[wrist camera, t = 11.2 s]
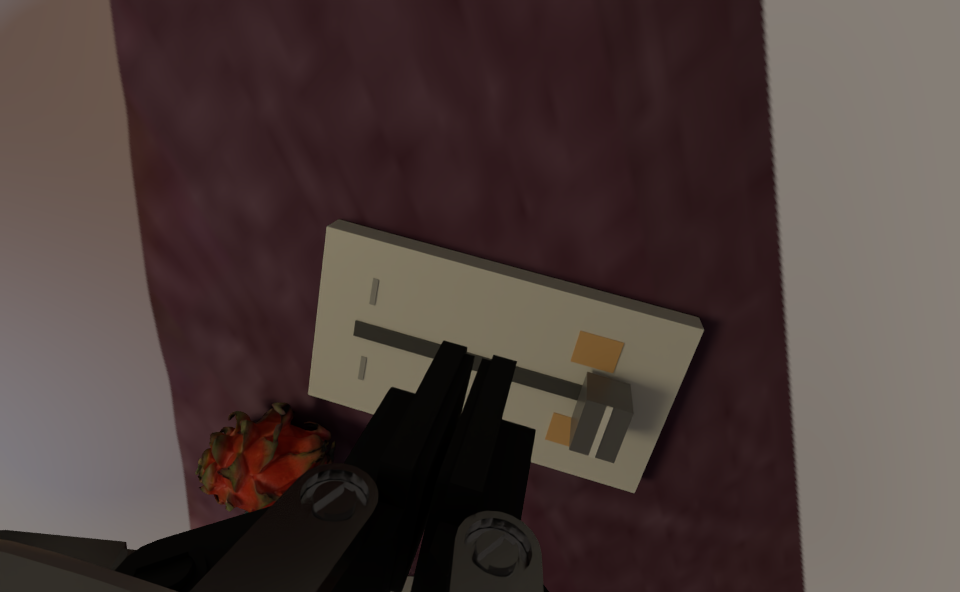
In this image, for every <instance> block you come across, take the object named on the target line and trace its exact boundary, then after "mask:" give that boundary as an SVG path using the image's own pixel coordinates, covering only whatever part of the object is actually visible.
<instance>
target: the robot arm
mask: <svg viewBox="0 0 960 592" xmlns="http://www.w3.org/2000/svg"><path fill="white" fill-rule="evenodd" d="M474 359H475V356H473V355H470V354H467V347H466V346H462V345H459V344H455V343H452V342H448V341H445V340H444V341H443V342H442V344H441V346H440V347H439V349H438V351H437V353H436V355H435V357H434V359H433V361H432V363H431V365H430V366H429V368H428V370H427V372H426V374H425V376H424V378H423V380H422V382H421V383H420V385H419V387H418V389H417V391H416V393H412V392H409V391H405V390H402V389H398V388H395V387H391V388H390V389H389V391H388V392H387V394H386V395H385V397H384V398H383V400H382V402H381V403H380V405H379V407H378V408H377V410H376V412H375V413H374V415H373V417H372V418H371V420H370V422H369V423H368V425H367V426H366V428H365V430H364V431H363V433H362V435H361V436H360V438H359V440H358V441H357V443H356V445H355V446H354V448H353V449H352V451H351V453H350V454H349V456H348V458H347V459H346V461H345V463H344V464H342V463H329V464H323V465H319V466H316V467H314V468H312V469H309V470H308V471H306V472H305V473H304V474H302V475H301V476H300V477H299V478H298V479H297V480H296V481H295V482H294V483H293V484H292V485H291V486H290V487H289V488H288V489H287V490H286V491H285V492H284V493H283V494H282V495H281V496H280V497H279V498H278V500H277V501H276V502H275V503H274V504H273V505H272V506H269V507H266V508H262V509H259V510H256V511H253V512H249V513H246V514H243V515H239V516H236V517H233V518H229V519H226V520H223V521H219V522H216V523H213V524H209V525H206V526H203V527H199V528H196V529H193V530H189V531H186V532H183V533H179V534H176V535H173V536H169V537H166V538H163V539H160V540H157V541H154V542H152V543H150V544H147V545H145V546H142V547H140V548H139V549H138V550H130V549H127V546H126V542H122V541H111V540H101V539H90V538H80V537H70V536H60V535H51V534H41V533H30V532H20V531H10V530H0V592H391V591H392V592H402V590H403V588H404V585H405V582H406V579H407V577H408V574H409V571H410V568H411V566H412V563H413V560H414V557H415V555H416V552H417V549H418V546H419V544H420V541H421V538H422V535H423V532H424V536H423V540H422V544H421V549H420V553H419V557H418V562H417V566H416V570H415V574H414V579H413V583H412V587H411V592H549V591H548V590H547V589H546V587H545V586H544V585H543V573H542V555H541V550H540V546H539V542H538V540H537V539H536V537H535V535H534V533H533V532H532V531H531V530H530V529H529V528H528V527H527V526H526V525H525V524H524V523H523V522H522V521H521V515H522V509H523V504H524V498H525V492H526V486H527V480H528V474H529V469H530V463H531V457H532V451H533V445H534V439H535V433H536V429H533V428H530V427H526V426H523V425H520V424H516V423H513V422H510V421H506V420H503V419H502V417H503V413H504V409H505V405H506V402H507V398H508V394H509V390H510V387H511V383H512V379H513V375H514V371H515V368H516V364H517V361H514V360H511V359H507V358H504V357H500V356H497V355H493V357H492V360H487V359H484V358H482V360H481V363H480V365H479V368H478V371H477V373H476V376H475V379H474V381H473V384H472V386H471V389H470V392H469V394H468V397H467V400H466V402H465V405H464V401H465V396H466V392H467V388H468V384H469V380H470V376H471V372H472V367H473V363H474ZM463 405H464V408H463ZM462 409H463V410H462ZM424 530H425V531H424Z"/></svg>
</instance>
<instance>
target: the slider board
mask: <svg viewBox="0 0 960 592" xmlns="http://www.w3.org/2000/svg"><path fill="white" fill-rule="evenodd" d="M703 331H704V328H703V326H702V324H701V321H700V319H699V317H695V316H692V315H688V314H684V313H681V312H677V311H673V310H670V309H666V308H662V307H659V306H655V305H651V304H648V303H644V302H640V301H637V300H633V299H629V298H626V297H622V296H618V295H615V294H611V293H607V292H604V291H600V290H596V289H593V288H589V287H585V286H582V285H578V284H574V283H571V282H567V281H563V280H559V279H556V278H552V277H548V276H545V275H541V274H537V273H534V272H530V271H526V270H523V269H519V268H515V267H512V266H508V265H504V264H501V263H497V262H493V261H490V260H486V259H482V258H479V257H475V256H471V255H468V254H464V253H460V252H457V251H453V250H449V249H446V248H442V247H438V246H435V245H431V244H427V243H424V242H420V241H416V240H413V239H409V238H405V237H402V236H398V235H394V234H391V233H387V232H383V231H380V230H376V229H372V228H369V227H365V226H361V225H358V224H354V223H350V222H347V221H343V220H339V219H338V220H337V221H335V222H333V223H332V224H330V225H328V226H327V229H326V238H325V247H324V256H323V265H322V274H321V283H320V292H319V301H318V310H317V319H316V328H315V337H314V346H313V355H312V364H311V373H310V382H309V391H308V395H311V396H315V397H318V398H321V399H324V400H328V401H331V402H334V403H338V404H341V405H344V406H348V407H351V408H354V409H357V410H361V411H364V412H367V413H371V414H374V413H375V412H376V410H377V408H378V407H379V405H380V403H381V402H382V400H383V398H384V397H385V395H386V394H387V392H388V391H389V389H390V388H391V387H395V388H398V389H402V390H405V391H409V392H412V393H416V391H417V389H418V387H419V385H420V383H421V382H422V380H423V378H424V376H425V374H426V372H427V370H428V368H429V366H430V365H431V363H432V361H433V359H434V357H435V355H436V353H437V351H438V349H439V347H440V346H441V344H442V342H443V341H444V340H445V341H448V342H452V343H455V344H459V345H462V346H466V347H467V354H470V355H473V356H475V359H474V363H473V367H472V372H471V376H470V380H469V384H468V388H467V392H466V396H465V401H464V405H465V402H466V400H467V397H468V394H469V392H470V389H471V386H472V384H473V381H474V379H475V376H476V373H477V371H478V368H479V365H480V363H481V360H482V358H484V359H487V360H492V357H493V355H497V356H500V357H504V358H507V359H511V360H514V361H517V364H516V368H515V371H514V375H513V379H512V383H511V387H510V390H509V394H508V398H507V402H506V405H505V409H504V413H503V417H502V419H503V420H506V421H510V422H513V423H516V424H520V425H523V426H526V427H530V428H533V429H536V433H535V439H534V445H533V451H532V457H531V462H533V463H536V464H539V465H543V466H546V467H549V468H553V469H556V470H559V471H563V472H566V473H569V474H572V475H576V476H579V477H582V478H586V479H589V480H592V481H596V482H599V483H602V484H606V485H609V486H612V487H615V488H619V489H622V490H625V491H629V492H632V493H635V491H636V489H637V486H638V484H639V482H640V479H641V477H642V475H643V472H644V470H645V467H646V465H647V463H648V460H649V458H650V456H651V453H652V451H653V449H654V446H655V444H656V442H657V439H658V437H659V435H660V432H661V430H662V428H663V425H664V423H665V421H666V418H667V416H668V414H669V411H670V409H671V407H672V404H673V402H674V399H675V397H676V395H677V392H678V390H679V388H680V385H681V383H682V381H683V378H684V376H685V374H686V371H687V369H688V367H689V364H690V362H691V360H692V357H693V355H694V353H695V350H696V348H697V346H698V343H699V341H700V338H701V336H702V334H703ZM587 372H590V373H594V374H597V375H601V376H604V377H608V378H611V379H615V380H618V381H622V382H625V383H629V384H631V393H632V402H633V411H634V414H633V417H632V419H631V422H630V424H629V427H628V429H627V432H626V434H625V437H624V439H623V442H622V444H621V447H620V450H619V452H618V455H617V457H616V460H615V462H614V463H611V462H608V461H604V460H601V459H598V458H591V457H588V455H584V454H581V453H578V452H574V451H571V450H569V442H570V427H571V418H572V415H573V412H574V409H575V406H576V403H577V400H578V397H579V394H580V391H581V388H582V386H583V383H584V380H585V377H586V374H587ZM464 405H463V408H464ZM462 410H463V409H462Z"/></svg>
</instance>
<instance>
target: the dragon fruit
mask: <svg viewBox="0 0 960 592" xmlns="http://www.w3.org/2000/svg"><path fill="white" fill-rule="evenodd" d="M272 406H273V408H274V409H270V410H269V411H268V412H266V413H265V414H264V415H263V418H262V419H261V420H259V421H258V422H256V423H254V422H253V421H251V420H250V417H249V416H248V415H247V414H246V413H244V412H240V411H235V412H233V413H231V414H230V415H229V417H228V420H230V419H232V418H233V417H234V416H235V415H236V416H235V417H236V420H237V423H236V429H235V428H233V427H223V429H221V431H220V432H215V433H212V434H210V443H209V444H210V447H211V448H210V449H206V450H205V451H204V453H203V454H202V458H201V459H200V460H199V462H198V463H199V464H198V469H197V471H196V473H195V474H196V475H197V474H199V476H198V478H199V481H200V483H203V484H204V486H202V487H199V488H200V489H201V490H202V491H203V492H204V493H206V494H208V495H210V494H214V497H215V499H216V501H217V503H218V504H220V505H222V504H226V505H227V506H226V509H227V510H228V511H232V509H233V508H235V507H239V508H241V509H244V510H246V511H248V512H253V511H256V510H259V509H262V508H266V507H269V506H272V505H273V504H274V503H275V502H276V501H277V500H278V498H279V497H280V496H281V495H282V494H283V493H284V492H285V491H286V490H287V489H288V488H289V487H290V486H291V485H292V484H293V483H294V482H295V481H296V480H297V479H298V478H299V477H300V476H301V475H302V474H304V473H305V472H306V471H308V470H309V469H312V468H314V467H316V466H319V465H323V464H329V463H332V462H333V459H334V453H333V452H334V450H335V441H334V442H332V444H331V447H330V449H329V452H328V453H327V454H326V452H325V451H327V449H328V448H327V445H328V444H329V440H330V439H331V433H330V431H328V430H326V429H325V427H324V428H323V427H322V426H321V425H319V424H318V423H314V422H303V423H304V424H312V426H311V425H309V426H307V427H309V428H313V429H317V430H314V431H308V430H304V429H302V428H299V427H297V426H294V425H291V420H292V419H293V416H294V412H293V413H292V409H291V407H290V405H289V404H287V403H273V404H272ZM292 414H293V415H292ZM222 432H224V434H223V433H222Z"/></svg>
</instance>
